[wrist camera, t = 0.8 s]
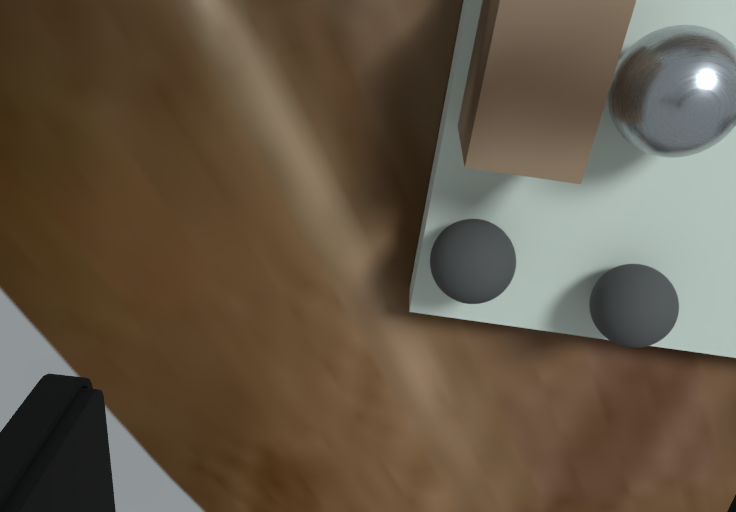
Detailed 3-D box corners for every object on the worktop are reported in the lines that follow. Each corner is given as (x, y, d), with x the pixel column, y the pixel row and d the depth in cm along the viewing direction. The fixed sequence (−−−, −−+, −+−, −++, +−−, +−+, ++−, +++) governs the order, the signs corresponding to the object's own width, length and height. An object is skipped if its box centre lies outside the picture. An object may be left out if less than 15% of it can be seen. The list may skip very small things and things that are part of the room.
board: (488, -134, 25) (504, -136, 20) (1087, -44, 25) (1230, -28, 21) (409, 289, 33) (409, 351, 29) (854, 352, 34) (920, 422, 29)
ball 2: (594, 243, 30) (615, 285, 26) (674, 255, 30) (705, 298, 26) (572, 311, 31) (589, 358, 28) (648, 321, 31) (673, 370, 28)
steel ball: (615, 5, 25) (652, 29, 21) (738, 23, 25) (798, 50, 21) (580, 125, 27) (608, 166, 23) (693, 141, 27) (740, 185, 23)
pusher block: (489, -36, 24) (503, -20, 21) (600, -20, 25) (636, 0, 21) (457, 125, 27) (464, 167, 23) (557, 140, 27) (580, 184, 24)
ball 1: (436, 199, 29) (439, 237, 26) (519, 211, 29) (531, 250, 26) (422, 270, 31) (423, 314, 28) (500, 281, 31) (510, 326, 28)
